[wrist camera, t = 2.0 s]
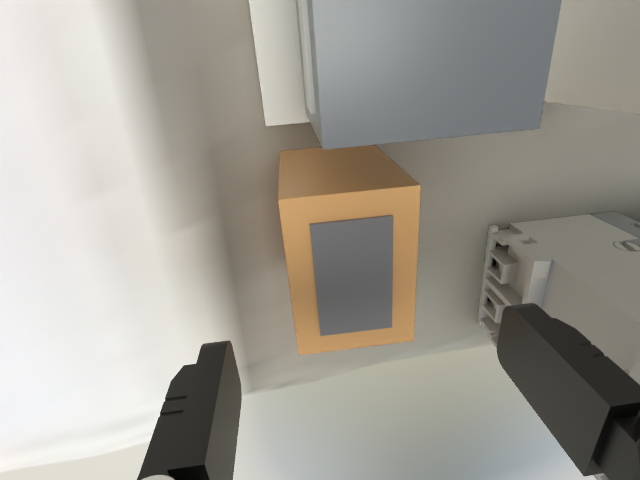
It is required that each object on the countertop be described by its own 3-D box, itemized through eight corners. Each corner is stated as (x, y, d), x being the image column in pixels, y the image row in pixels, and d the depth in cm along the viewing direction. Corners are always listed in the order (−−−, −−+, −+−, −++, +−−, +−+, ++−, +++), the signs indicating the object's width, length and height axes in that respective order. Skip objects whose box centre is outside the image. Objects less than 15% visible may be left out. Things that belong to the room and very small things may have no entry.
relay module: (371, 142, 20) (422, 186, 13) (372, 254, 23) (414, 343, 16) (279, 151, 20) (277, 201, 12) (293, 263, 23) (298, 357, 15)
